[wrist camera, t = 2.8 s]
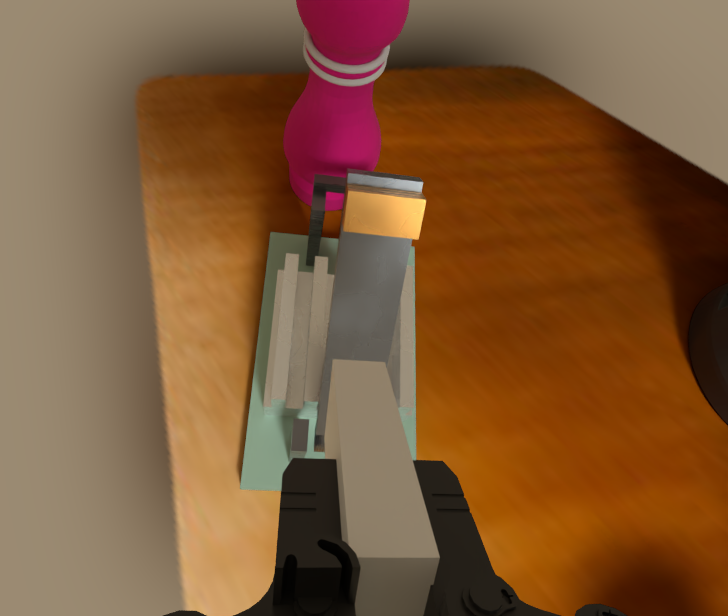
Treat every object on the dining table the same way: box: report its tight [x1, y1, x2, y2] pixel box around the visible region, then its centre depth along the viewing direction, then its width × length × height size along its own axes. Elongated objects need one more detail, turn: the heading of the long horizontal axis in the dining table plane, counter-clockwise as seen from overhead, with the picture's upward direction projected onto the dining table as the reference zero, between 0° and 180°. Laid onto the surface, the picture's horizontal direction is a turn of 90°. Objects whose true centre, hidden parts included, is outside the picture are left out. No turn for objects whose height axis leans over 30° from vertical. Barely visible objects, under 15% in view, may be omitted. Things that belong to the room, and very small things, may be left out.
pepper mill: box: [283, 0, 409, 211], centre depth 31 cm, size 7×7×20 cm
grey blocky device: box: [263, 174, 414, 462], centre depth 30 cm, size 16×9×8 cm, turn 178°
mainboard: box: [240, 232, 416, 491], centre depth 35 cm, size 18×11×1 cm, turn 178°
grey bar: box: [314, 168, 426, 452], centre depth 23 cm, size 15×3×2 cm
